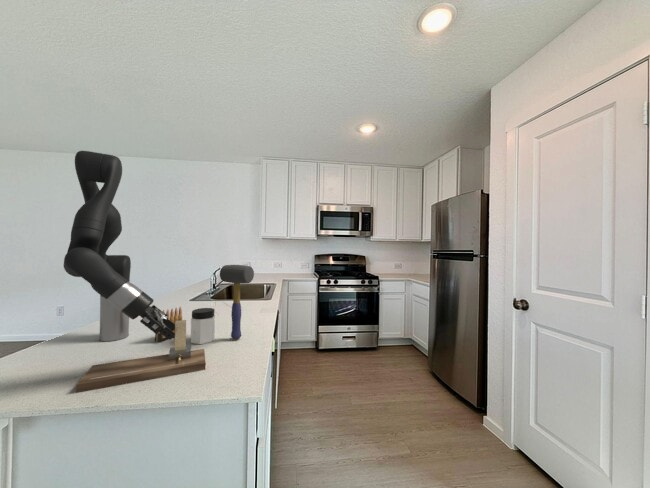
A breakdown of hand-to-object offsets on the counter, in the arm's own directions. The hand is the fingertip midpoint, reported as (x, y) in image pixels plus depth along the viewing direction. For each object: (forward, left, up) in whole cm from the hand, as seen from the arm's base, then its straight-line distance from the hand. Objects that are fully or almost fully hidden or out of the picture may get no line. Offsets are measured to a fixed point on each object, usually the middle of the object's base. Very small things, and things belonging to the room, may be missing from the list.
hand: (174, 332), depth 85 cm
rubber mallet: (-14, +21, -10) cm, 27 cm away
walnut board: (+3, -6, -10) cm, 12 cm away
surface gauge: (+2, +2, -7) cm, 8 cm away
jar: (-18, +9, -10) cm, 22 cm away
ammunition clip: (-26, -3, -10) cm, 28 cm away
